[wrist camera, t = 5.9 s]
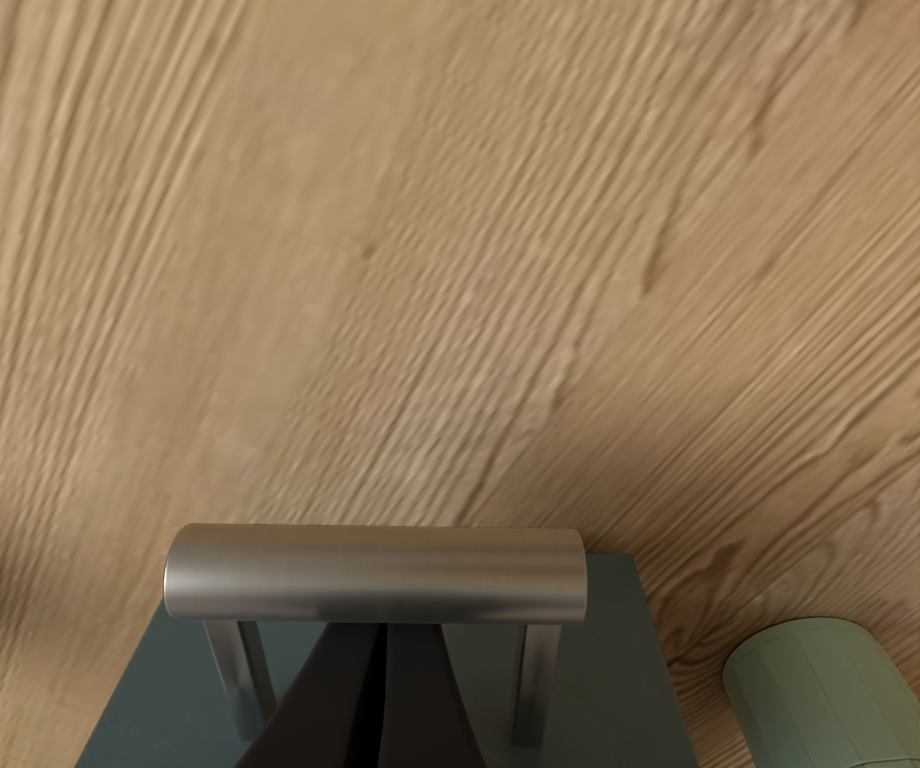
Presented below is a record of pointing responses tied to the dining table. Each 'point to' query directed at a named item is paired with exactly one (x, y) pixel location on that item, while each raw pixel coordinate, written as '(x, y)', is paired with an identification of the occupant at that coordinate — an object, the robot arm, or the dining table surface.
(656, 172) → the dining table surface
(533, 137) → the dining table surface
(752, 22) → the dining table surface
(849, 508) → the dining table surface
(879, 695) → the jar
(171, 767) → the drawer
